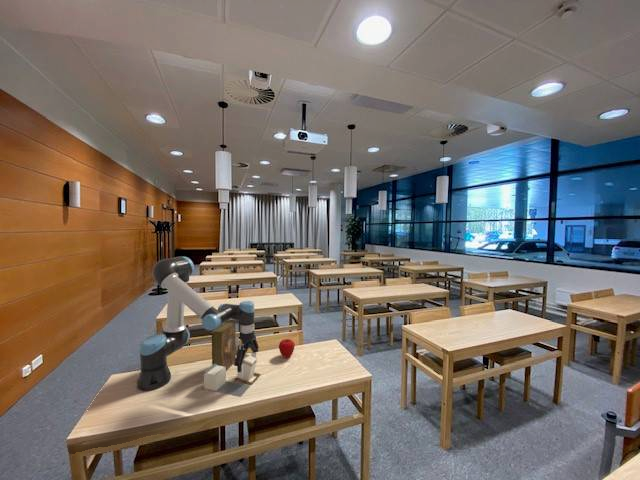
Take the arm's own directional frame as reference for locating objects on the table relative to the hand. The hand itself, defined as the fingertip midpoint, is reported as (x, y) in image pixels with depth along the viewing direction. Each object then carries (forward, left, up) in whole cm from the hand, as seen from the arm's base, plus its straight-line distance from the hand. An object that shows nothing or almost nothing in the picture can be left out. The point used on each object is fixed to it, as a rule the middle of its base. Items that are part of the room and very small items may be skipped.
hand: (247, 370), depth 141 cm
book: (-18, +6, -6) cm, 20 cm away
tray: (0, 0, -6) cm, 6 cm away
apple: (+10, +30, -6) cm, 32 cm away
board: (-6, -10, -6) cm, 13 cm away
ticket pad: (-12, -10, -4) cm, 17 cm away
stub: (-2, 0, -4) cm, 4 cm away
